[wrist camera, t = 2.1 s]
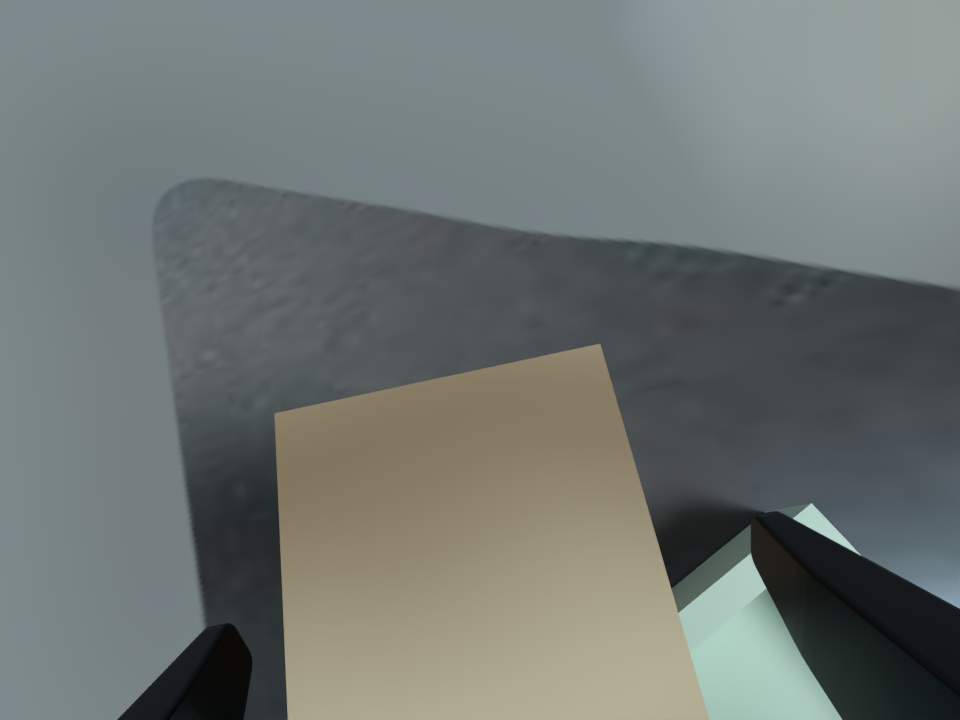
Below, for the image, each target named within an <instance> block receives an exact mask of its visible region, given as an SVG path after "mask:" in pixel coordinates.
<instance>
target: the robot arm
mask: <svg viewBox="0 0 960 720" xmlns="http://www.w3.org/2000/svg"><path fill="white" fill-rule="evenodd" d="M751 556H752V559H753V562H754V565H755V567H756V569H757V571H758V573H759V575H760V577H761V579H762V581H763V583H764V585H765V586H766V588H767V590H768V592H769V594H770V596H771V598H772V600H773V602H774V604H775V606H776V608H777V610H778V612H779V614H780V616H781V618H782V620H783V621H784V623H785V625H786V627H787V629H788V631H789V633H790V635H791V637H792V639H793V641H794V643H795V645H796V646H797V648H798V650H799V652H800V654H801V656H802V657H803V659H804V661H805V662H806V664H807V666H808V667H809V669H810V670H811V672H812V674H813V675H814V677H815V678H816V680H817V681H818V683H819V684H820V686H821V688H822V689H823V691H824V692H825V694H826V695H827V697H828V698H829V700H830V701H831V703H832V705H833V706H834V708H835V709H836V711H837V712H838V714H839V715H840V717H841V718H842V720H960V609H959V608H957V607H955V606H953V605H952V604H950V603H948V602H946V601H944V600H942V599H941V598H939V597H937V596H935V595H933V594H931V593H929V592H928V591H926V590H924V589H922V588H920V587H918V586H916V585H915V584H913V583H911V582H909V581H907V580H905V579H904V578H902V577H900V576H898V575H896V574H894V573H892V572H891V571H889V570H887V569H885V568H883V567H881V566H879V565H878V564H876V563H874V562H872V561H870V560H868V559H867V558H865V557H863V556H861V555H859V554H857V553H855V552H854V551H852V550H850V549H848V548H846V547H844V546H842V545H841V544H839V543H837V542H835V541H833V540H831V539H830V538H828V537H826V536H824V535H822V534H820V533H818V532H817V531H815V530H813V529H811V528H809V527H807V526H805V525H804V524H802V523H800V522H798V521H796V520H794V519H792V518H791V517H789V516H787V515H785V514H783V513H781V512H778V511H772V512H767V513H762V514H757V515H754V516H753V517H752V519H751ZM251 672H252V656H251V653H250V651H249V649H248V647H247V646H246V644H245V642H244V641H243V639H242V637H241V636H240V634H239V632H238V631H237V629H236V628H235V626H234V625H232V624H230V623H226V624H221V625H216V626H212V627H209V628H206V629H205V630H204V631H203V632H202V633H201V634H200V635H199V636H198V637H197V638H196V639H195V640H194V641H193V642H192V643H191V644H190V645H189V646H188V647H187V648H186V649H185V650H184V651H183V652H182V653H181V654H180V655H179V656H178V657H177V658H176V660H175V661H174V662H173V663H172V664H171V665H170V666H169V667H168V668H167V669H166V670H165V671H164V672H163V673H162V674H161V675H160V676H159V677H158V678H157V679H156V680H155V682H153V683H152V685H151V686H149V687H148V689H147V690H146V691H145V692H144V693H143V694H142V695H141V696H140V697H139V698H138V699H137V700H136V701H135V702H134V703H133V704H132V705H131V706H130V707H129V708H128V709H127V710H126V712H124V713H123V714H122V715H121V716H120V718H119V719H118V720H244V714H245V708H246V702H247V696H248V690H249V684H250V678H251Z"/></svg>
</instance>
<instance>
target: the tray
mask: <svg viewBox="0 0 960 720" xmlns="http://www.w3.org/2000/svg"><path fill="white" fill-rule="evenodd" d="M773 511H778V512H781V513H783V514H785V515H787V516H789V517H791V518H792V519H794V520H796V521H798V522H800V523H802V524H804V525H805V526H807V527H809V528H811V529H813V530H815V531H817V532H818V533H820V534H822V535H824V536H826V537H828V538H830V539H831V540H833V541H835V542H837V543H839V544H841V545H842V546H844V547H846V548H848V549H850V550H852V551H854V552H855V553H857V554H859V553H858V552H857V551H856V550H855V549H854V548H853V547H852V545H851V544H850V543H849V542H848V541H847V540H846V539H845V538H844V537H843V536H842V535H841V534H840V533H839V532H838V531H837V530H836V529H835V528H834V527H833V525H832V524H831V523H830V522H829V521H828V520H827V519H826V518H825V517H824V516H823V515H822V514H821V513H820V512H819V511H818V510H817V509H816V508H815V507H814V505H813V504H812V503H810V504H805V505H800V506H794V507H789V508H784V509H778V510H773ZM768 512H772V511H768ZM765 513H767V512H765ZM859 555H860V554H859ZM672 593H673V596H674V600H675V603H676V607H677V610H678V613H679V617H680V620H681V624H682V627H683V631H684V634H685V638H686V641H687V644H688V648H689V651H690V655H691V658H692V662H693V665H694V669H695V672H696V675H697V679H698V682H699V686H700V689H701V693H702V696H703V699H704V703H705V706H706V710H707V713H708V717H709V720H842V718H841V717H840V715H839V714H838V712H837V711H836V709H835V708H834V706H833V705H832V703H831V701H830V700H829V698H828V697H827V695H826V694H825V692H824V691H823V689H822V688H821V686H820V684H819V683H818V681H817V680H816V678H815V677H814V675H813V674H812V672H811V670H810V669H809V667H808V666H807V664H806V662H805V661H804V659H803V657H802V656H801V654H800V652H799V650H798V648H797V646H796V645H795V643H794V641H793V639H792V637H791V635H790V633H789V631H788V629H787V627H786V625H785V623H784V621H783V620H782V618H781V616H780V614H779V612H778V610H777V608H776V606H775V604H774V602H773V600H772V598H771V596H770V594H769V592H768V590H767V588H766V586H765V585H764V583H763V581H762V579H761V577H760V575H759V573H758V571H757V569H756V567H755V565H754V562H753V559H752V556H751V524H750V525H749V526H748V527H746V528H745V529H744V530H743V531H742V532H740V533H739V534H738V535H737V536H735V537H734V538H733V539H732V540H731V541H729V542H728V543H727V544H726V545H724V546H723V547H722V548H721V549H720V550H718V551H717V552H716V553H715V554H713V555H712V556H711V557H710V558H709V559H707V560H706V561H705V562H704V563H702V564H701V565H700V566H699V567H697V568H696V569H695V570H694V571H693V572H691V573H690V574H689V575H688V576H686V577H685V578H684V579H683V580H682V581H680V582H679V583H678V584H677V585H675V586H674V587H673V588H672Z"/></svg>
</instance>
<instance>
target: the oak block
mask: <svg viewBox="0 0 960 720" xmlns="http://www.w3.org/2000/svg"><path fill="white" fill-rule="evenodd" d="M274 414H275V437H276V460H277V483H278V506H279V529H280V552H281V575H282V598H283V621H284V644H285V667H286V690H287V713H288V720H709V717H708V713H707V710H706V706H705V703H704V699H703V696H702V693H701V689H700V686H699V682H698V679H697V675H696V672H695V669H694V665H693V662H692V658H691V655H690V651H689V648H688V644H687V641H686V638H685V634H684V631H683V627H682V624H681V620H680V617H679V613H678V610H677V607H676V603H675V600H674V596H673V593H672V589H671V586H670V583H669V579H668V576H667V572H666V569H665V565H664V562H663V558H662V555H661V552H660V548H659V545H658V541H657V538H656V534H655V531H654V528H653V524H652V521H651V517H650V514H649V510H648V507H647V503H646V500H645V497H644V493H643V490H642V486H641V483H640V479H639V476H638V472H637V469H636V466H635V462H634V459H633V455H632V452H631V448H630V445H629V442H628V438H627V435H626V431H625V428H624V424H623V421H622V417H621V414H620V411H619V407H618V404H617V400H616V397H615V393H614V390H613V387H612V383H611V380H610V376H609V373H608V369H607V366H606V362H605V359H604V356H603V352H602V349H601V345H600V344H597V345H592V346H587V347H583V348H578V349H573V350H569V351H564V352H559V353H555V354H550V355H545V356H541V357H536V358H531V359H527V360H522V361H517V362H513V363H508V364H503V365H499V366H494V367H489V368H485V369H480V370H475V371H471V372H466V373H461V374H457V375H452V376H447V377H443V378H438V379H433V380H429V381H424V382H419V383H415V384H410V385H405V386H401V387H396V388H391V389H386V390H382V391H377V392H372V393H368V394H363V395H358V396H354V397H349V398H344V399H340V400H335V401H330V402H326V403H321V404H316V405H312V406H307V407H302V408H298V409H293V410H288V411H284V412H279V413H274Z"/></svg>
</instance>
